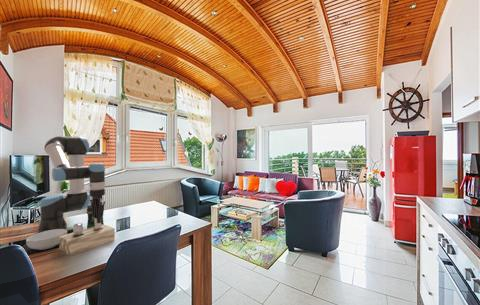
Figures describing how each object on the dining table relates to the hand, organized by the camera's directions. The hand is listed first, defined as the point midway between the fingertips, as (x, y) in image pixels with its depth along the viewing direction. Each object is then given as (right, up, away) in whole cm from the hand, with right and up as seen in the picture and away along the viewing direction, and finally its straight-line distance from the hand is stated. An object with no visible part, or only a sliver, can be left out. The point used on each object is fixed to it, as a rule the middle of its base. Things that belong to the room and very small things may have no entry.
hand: (97, 228), depth 123 cm
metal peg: (-5, -2, -9) cm, 10 cm away
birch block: (-3, -8, -4) cm, 9 cm away
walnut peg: (0, -7, 0) cm, 7 cm away
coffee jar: (-11, -8, +13) cm, 19 cm away
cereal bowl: (-24, -8, -7) cm, 26 cm away
